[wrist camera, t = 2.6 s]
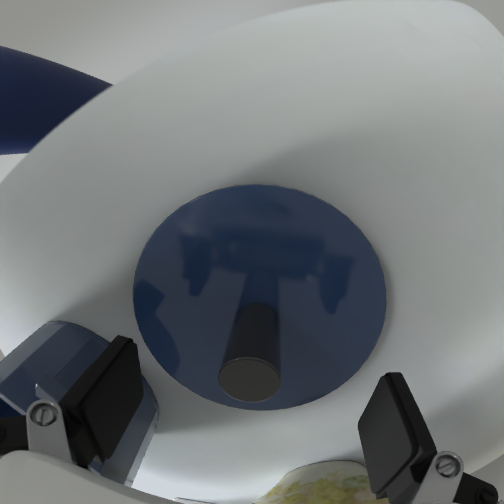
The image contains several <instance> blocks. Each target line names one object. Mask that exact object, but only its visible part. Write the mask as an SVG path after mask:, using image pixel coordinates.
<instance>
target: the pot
mask: <svg viewBox="0 0 504 504" xmlns="http://www.w3.org/2000/svg"><path fill="white" fill-rule="evenodd" d="M109 344H110V343H108V342H107V341H105V340H104V339H103V338H101V337H100V336H98V335H96V334H95V333H93V332H91V331H89V330H87V329H86V328H84V327H81V326H79V325H76V324H73V323H70V322H65V321H52V322H48V323H46V324H44V325H43V326H42V327H40V328H39V329H38V330H37V331H35V332H34V333H33V334H32V335H31V336H29V337H28V338H27V339H26V340H25V341H24V342H22V343H21V344H20V345H19V346H18V347H16V348H15V349H14V350H13V351H12V352H11V353H10V354H8V355H7V356H6V357H5V358H4V359H3V360H2V361H1V362H0V418H5V417H14V416H22V415H26V412H27V409H28V407H29V406H30V405H31V404H32V403H33V402H35V401H37V400H42V399H48V400H51V401H54V402H55V403H57V404H58V402H59V401H60V400H61V399H62V398H63V396H64V395H65V394H66V393H67V392H68V390H69V389H70V388H71V387H72V386H73V384H74V383H75V382H76V381H77V380H78V378H79V377H80V376H81V375H82V374H83V373H84V371H85V370H86V369H87V368H88V367H89V366H90V364H91V363H93V362H95V360H96V359H97V358H98V357H99V356H100V355H101V354H102V352H103V351H104V350H105V349H106V348H107V347H108V346H109ZM141 378H142V384H143V390H144V396H143V399H142V401H141V403H140V405H139V407H138V408H137V410H136V412H135V414H134V416H133V418H132V419H131V421H130V423H129V425H128V427H127V429H126V430H125V432H124V434H123V436H122V438H121V440H120V441H119V443H118V445H117V447H116V449H115V451H114V453H113V455H112V456H111V458H110V459H106V460H105V461H104V463H103V464H102V463H99V462H97V461H95V460H93V461H92V462H91V464H90V468H91V471H92V472H93V473H95V474H97V475H100V476H102V477H104V478H107V479H109V480H112V481H114V482H117V483H120V484H122V485H125V486H128V487H131V486H132V484H133V481H134V479H135V477H136V474H137V472H138V469H139V467H140V465H141V462H142V460H143V457H144V455H145V453H146V450H147V448H148V446H149V443H150V441H151V439H152V436H153V434H154V432H155V429H156V427H157V421H158V416H159V412H158V405H157V401H156V399H155V396H154V394H153V392H152V390H151V388H150V386H149V385H148V383H147V382H146V380H145V379H144V377H143V376H142V375H141Z"/></svg>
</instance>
